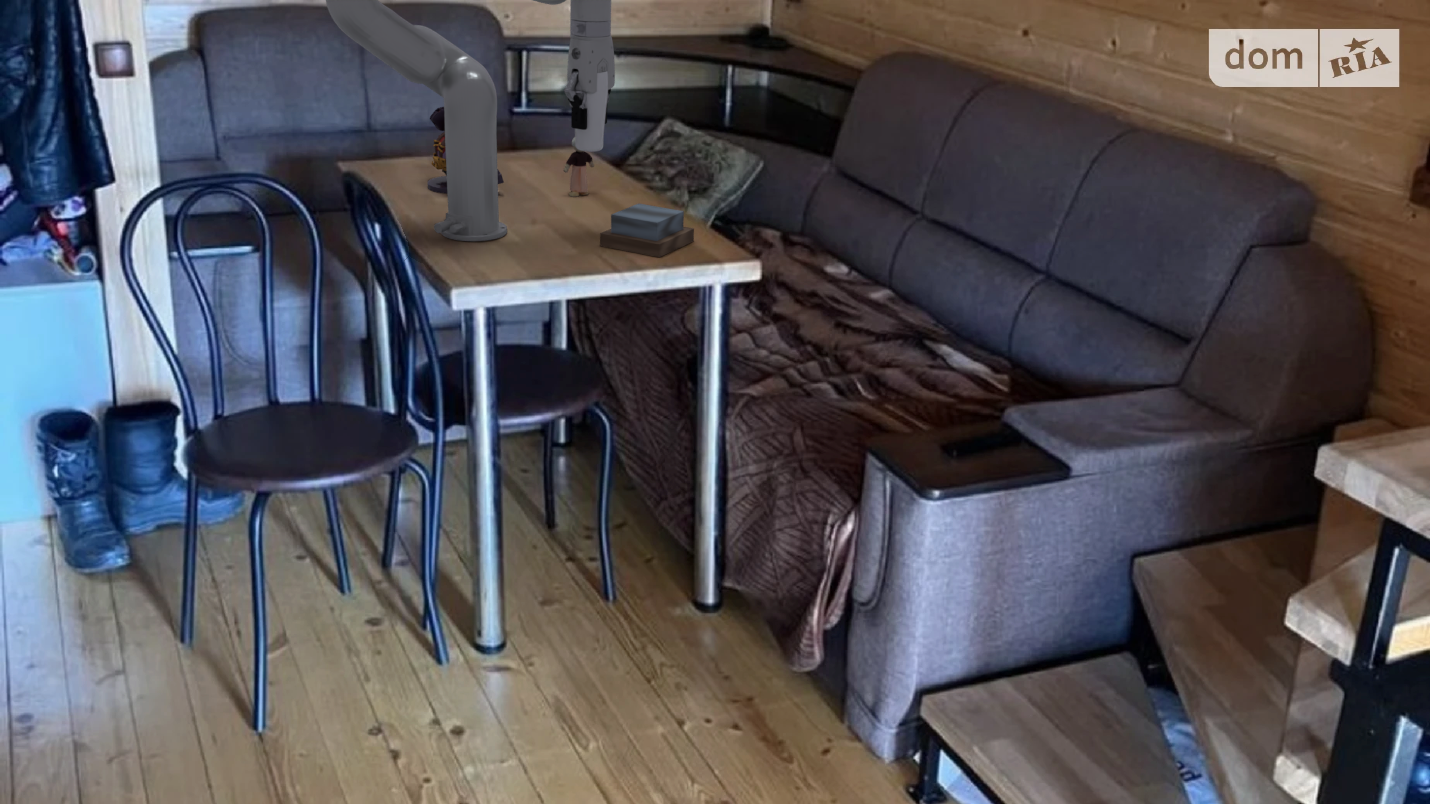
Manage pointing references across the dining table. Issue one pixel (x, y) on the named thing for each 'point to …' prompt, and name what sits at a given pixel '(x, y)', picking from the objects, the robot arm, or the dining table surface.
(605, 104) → the drinking glass
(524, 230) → the dining table surface
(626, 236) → the stone block on base
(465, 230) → the robot arm
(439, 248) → the dining table surface
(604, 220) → the dining table surface
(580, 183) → the grandmother figurine
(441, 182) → the figurine
